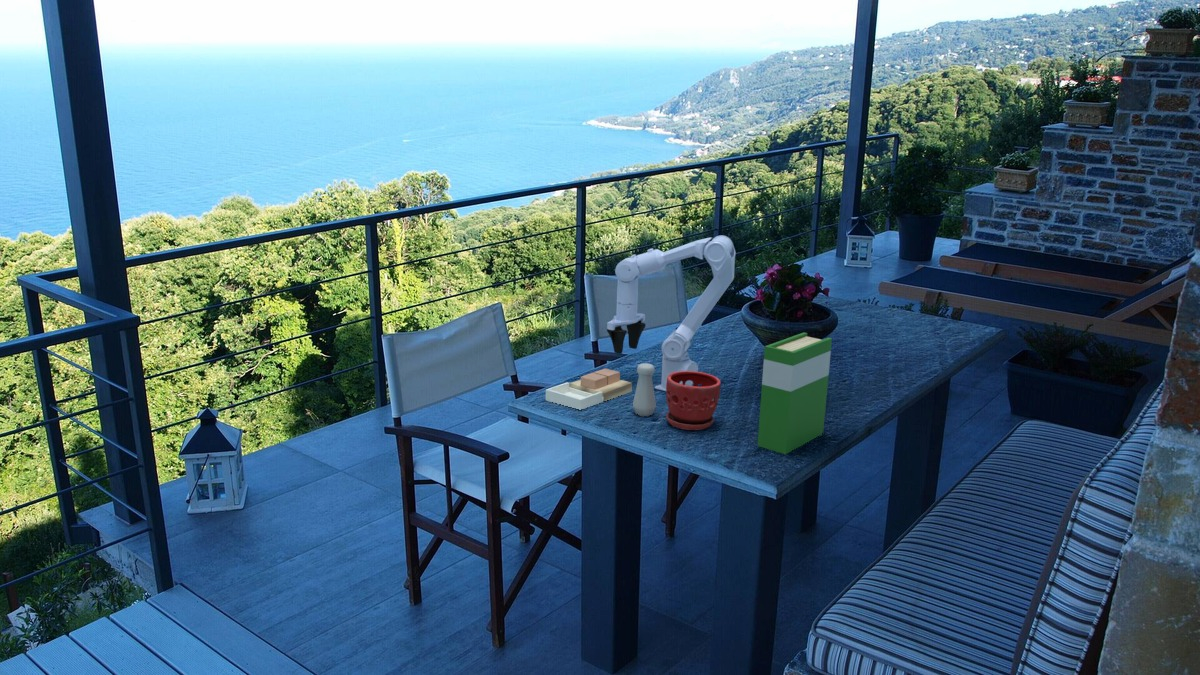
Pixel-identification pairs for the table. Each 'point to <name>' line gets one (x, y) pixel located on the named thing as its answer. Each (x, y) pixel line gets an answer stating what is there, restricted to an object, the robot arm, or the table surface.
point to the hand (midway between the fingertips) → (625, 350)
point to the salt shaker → (644, 391)
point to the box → (572, 397)
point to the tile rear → (610, 375)
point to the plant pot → (692, 399)
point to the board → (606, 389)
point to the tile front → (593, 381)
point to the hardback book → (793, 392)
